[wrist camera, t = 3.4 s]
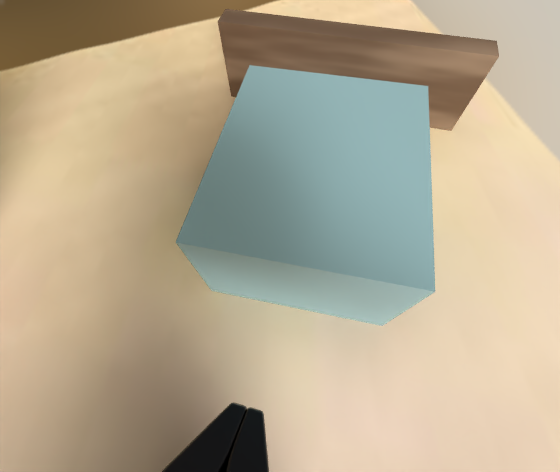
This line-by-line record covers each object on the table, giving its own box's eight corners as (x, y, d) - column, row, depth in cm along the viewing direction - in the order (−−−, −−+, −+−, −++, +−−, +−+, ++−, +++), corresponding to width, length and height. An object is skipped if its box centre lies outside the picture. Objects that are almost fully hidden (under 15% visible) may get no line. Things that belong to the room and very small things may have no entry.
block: (381, 326, 20) (435, 291, 13) (212, 291, 21) (175, 242, 14) (389, 168, 26) (428, 86, 19) (258, 148, 27) (249, 65, 20)
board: (451, 130, 28) (499, 56, 22) (231, 95, 31) (217, 21, 24) (450, 116, 29) (496, 40, 22) (237, 84, 31) (225, 8, 25)
